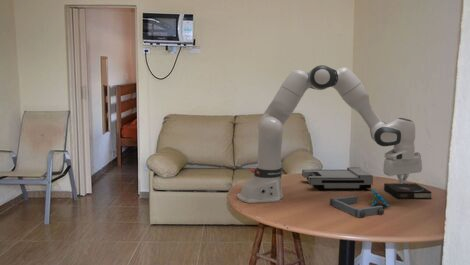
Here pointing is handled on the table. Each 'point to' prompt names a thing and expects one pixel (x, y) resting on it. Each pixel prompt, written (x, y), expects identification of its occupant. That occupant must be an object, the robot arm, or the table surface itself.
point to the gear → (378, 199)
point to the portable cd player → (407, 191)
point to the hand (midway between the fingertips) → (402, 183)
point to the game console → (339, 179)
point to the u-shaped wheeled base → (362, 212)
